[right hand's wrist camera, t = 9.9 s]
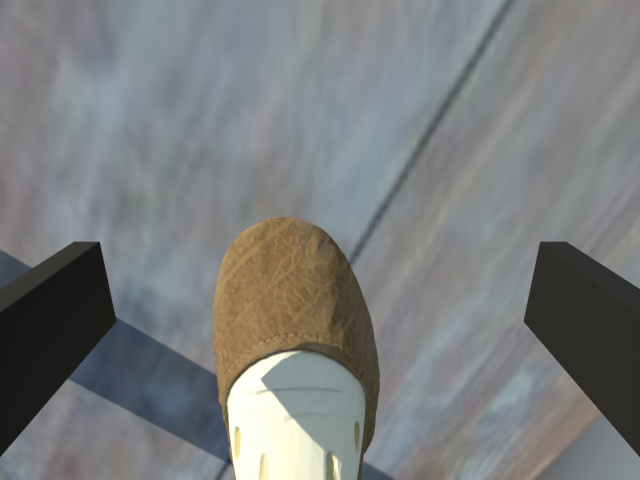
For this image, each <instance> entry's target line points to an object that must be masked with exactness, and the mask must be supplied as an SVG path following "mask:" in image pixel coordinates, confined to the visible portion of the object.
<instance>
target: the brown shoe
mask: <svg viewBox="0 0 640 480" xmlns="http://www.w3.org/2000/svg"><path fill="white" fill-rule="evenodd" d="M213 349H214V354H215V361H216V367H217V383H218V389H219V403H220V405H221V407H222V413H223V420H224V422H225V424H226V427H227V435H228V442H229V445H230V447H229V455H230V459H231V461H232V464H233V469H234V476H235V480H361V471H362V463H363V456H364V454H365V452H366V450H367V448H368V447H369V445H370V443H371V441H372V438H373V435H374V429H375V418H376V410H377V405H378V395H379V388H380V383H379V378H380V372H379V366H378V355H377V350H376V345H375V339H374V332H373V326H372V322H371V318H370V314H369V311H368V308H367V306H366V303H365V300H364V297H363V295H362V292H361V289H360V286H359V284H358V282H357V279H356V277H355V275H354V273H353V271H352V269H351V267H350V265H349V263H348V261H347V259H346V257H345V255H344V254H343V253H342V251H341V250H340V248H339V247H338V245H337V244H336V243H335V242H334V240H333V239H332V238H331V237H330V236H329V235H328V234H327V233H326V232H325V231H324V230H322V229H321V228H319V227H317V226H316V225H314V224H311V223H309V222H307V221H304V220H301V219H297V218H289V217H281V218H271V219H268V220H265V221H262V222H260V223H257V224H255V225H253V226H252V227H250V228H248V229H246V230H245V231H243V232H242V233H241V234H240V235H239V236H238V238H237V239H236V240H235V241H234V242H233V243H232V244H231V246H230V247H229V249H228V251H227V253H226V255H225V257H224V259H223V261H222V264H221V267H220V271H219V274H218V280H217V285H216V291H215V297H214V305H213Z"/></svg>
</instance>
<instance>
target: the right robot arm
mask: <svg viewBox="0 0 640 480" xmlns="http://www.w3.org/2000/svg"><path fill="white" fill-rule="evenodd" d="M115 322H116V317H115V312H114V308H113V303H112V298H111V293H110V289H109V284H108V279H107V274H106V270H105V265H104V260H103V255H102V250H101V246H100V242H73V243H71V244H70V245H68V246H67V247H65V248H63V249H62V250H60V251H59V252H57V253H56V254H54V255H53V256H51V257H49V258H48V259H46V260H45V261H43V262H42V263H40V264H39V265H37V266H35V267H34V268H32V269H31V270H29V271H28V272H26V273H25V274H23V275H21V276H20V277H18V278H17V279H15V280H14V281H12V282H11V283H9V284H7V285H6V286H4V287H3V288H1V289H0V457H1V456H2V454H3V453H4V452H5V451H6V450H7V449H8V447H9V446H10V445H11V444H12V443H13V442H14V440H15V439H16V438H17V437H18V436H19V435H20V433H21V432H22V431H23V430H24V429H25V428H26V426H27V425H28V424H29V423H30V422H31V421H32V419H33V418H34V417H35V416H36V415H37V414H38V412H39V411H40V410H41V409H42V408H43V407H44V405H45V404H46V403H47V402H48V401H49V400H50V398H51V397H52V396H53V395H54V394H55V393H56V391H57V390H58V389H59V388H60V387H61V386H62V384H63V383H64V382H65V381H66V380H67V379H68V377H69V376H70V375H71V374H72V373H73V372H74V370H75V369H76V368H77V367H78V366H79V365H80V363H81V362H82V361H83V360H84V359H85V358H86V356H87V355H88V354H89V353H90V352H91V351H92V349H93V348H94V347H95V346H96V345H97V344H98V342H99V341H100V340H101V339H102V338H103V337H104V335H105V334H106V333H107V332H108V331H109V330H110V328H111V327H112V326H113V325H114V324H115ZM524 322H525V324H526V325H527V326H528V327H529V328H530V330H531V331H532V332H533V333H534V334H535V335H536V337H537V338H538V339H539V340H540V341H541V342H542V344H543V345H544V346H545V347H546V348H547V349H548V351H549V352H550V353H551V354H552V355H553V356H554V358H555V359H556V360H557V361H558V362H559V363H560V365H561V366H562V367H563V368H564V369H565V370H566V372H567V373H568V374H569V375H570V376H571V377H572V379H573V380H574V381H575V382H576V383H577V384H578V386H579V387H580V388H581V389H582V390H583V391H584V393H585V394H586V395H587V396H588V397H589V398H590V400H591V401H592V402H593V403H594V404H595V405H596V407H597V408H598V409H599V410H600V411H601V412H602V414H603V415H604V416H605V417H606V418H607V419H608V421H609V422H610V423H611V424H612V425H613V426H614V428H615V429H616V430H617V431H618V432H619V433H620V435H621V436H622V437H623V438H624V439H625V440H626V442H627V443H628V444H629V445H630V446H631V447H632V449H633V450H634V451H635V452H636V453H637V454H638V456H639V457H640V289H639V288H637V287H636V286H634V285H633V284H631V283H629V282H628V281H626V280H625V279H623V278H622V277H620V276H619V275H617V274H615V273H614V272H612V271H611V270H609V269H608V268H606V267H605V266H603V265H601V264H600V263H598V262H597V261H595V260H594V259H592V258H591V257H589V256H587V255H586V254H584V253H583V252H581V251H580V250H578V249H577V248H575V247H573V246H572V245H570V244H569V243H567V242H540V246H539V250H538V255H537V260H536V265H535V270H534V274H533V279H532V284H531V289H530V293H529V298H528V303H527V308H526V312H525V317H524Z"/></svg>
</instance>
